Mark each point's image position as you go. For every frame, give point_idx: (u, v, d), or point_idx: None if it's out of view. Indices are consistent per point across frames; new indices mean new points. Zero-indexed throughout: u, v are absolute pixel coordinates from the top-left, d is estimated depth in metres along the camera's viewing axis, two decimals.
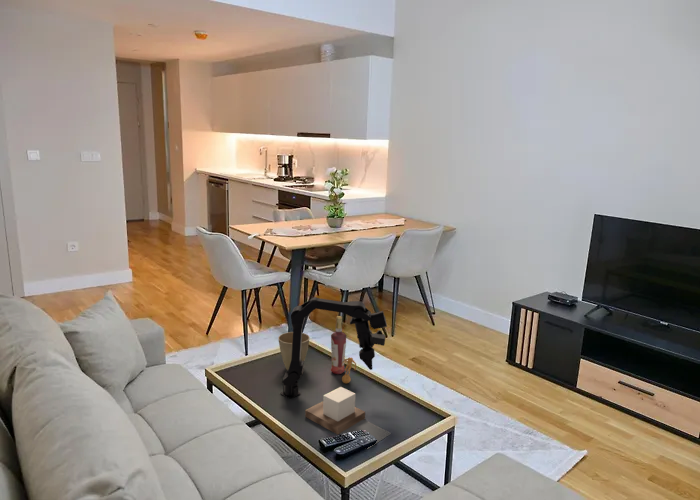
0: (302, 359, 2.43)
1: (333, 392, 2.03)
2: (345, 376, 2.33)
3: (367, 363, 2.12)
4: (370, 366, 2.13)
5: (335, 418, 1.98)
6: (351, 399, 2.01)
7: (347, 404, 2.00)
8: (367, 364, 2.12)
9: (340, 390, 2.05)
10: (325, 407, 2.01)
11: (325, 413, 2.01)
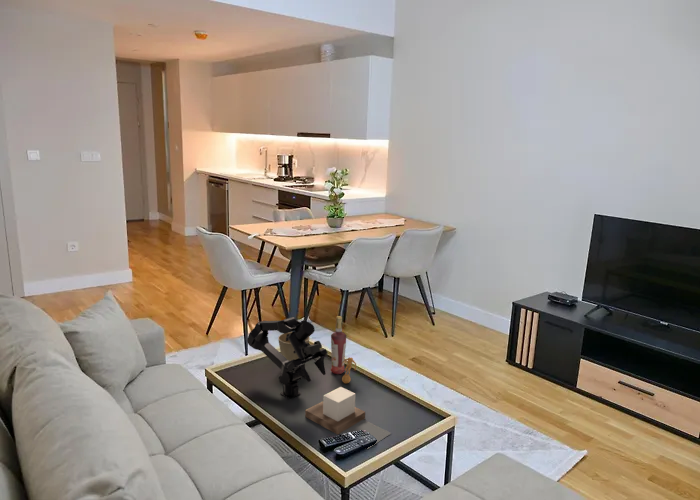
0: None
1: (333, 392, 2.03)
2: (345, 376, 2.33)
3: (302, 375, 2.07)
4: (306, 378, 2.06)
5: (335, 418, 1.98)
6: (351, 399, 2.01)
7: (347, 404, 2.00)
8: (303, 376, 2.07)
9: (340, 390, 2.05)
10: (325, 407, 2.01)
11: (325, 413, 2.01)
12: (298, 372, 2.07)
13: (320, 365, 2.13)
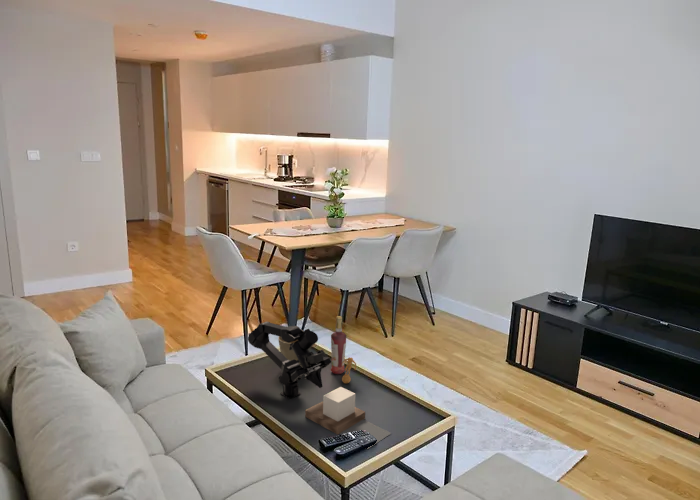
0: None
1: (333, 392, 2.03)
2: (345, 376, 2.33)
3: (313, 381, 2.09)
4: (317, 384, 2.08)
5: (335, 418, 1.98)
6: (351, 399, 2.01)
7: (347, 404, 2.00)
8: (314, 382, 2.09)
9: (340, 390, 2.05)
10: (325, 407, 2.01)
11: (325, 413, 2.01)
12: (309, 378, 2.09)
13: (317, 377, 2.10)
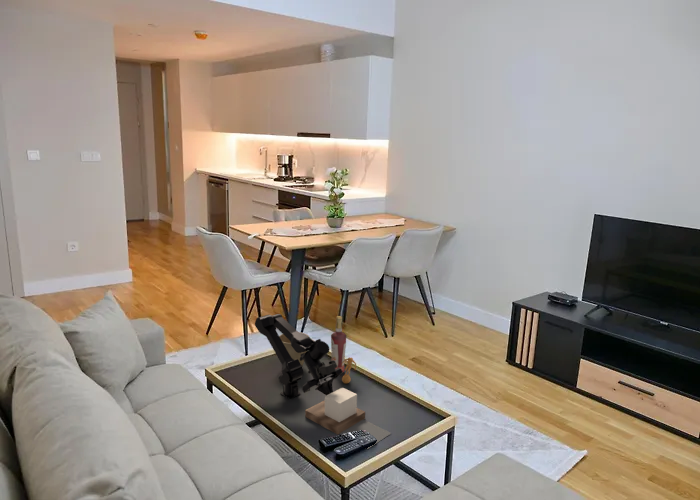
0: None
1: (335, 393, 2.02)
2: (345, 376, 2.33)
3: (325, 393, 2.05)
4: None
5: (337, 419, 1.97)
6: (353, 400, 2.01)
7: (349, 405, 1.99)
8: (325, 394, 2.05)
9: (341, 390, 2.04)
10: (327, 408, 2.00)
11: (327, 413, 2.00)
12: (320, 389, 2.06)
13: (329, 388, 2.06)
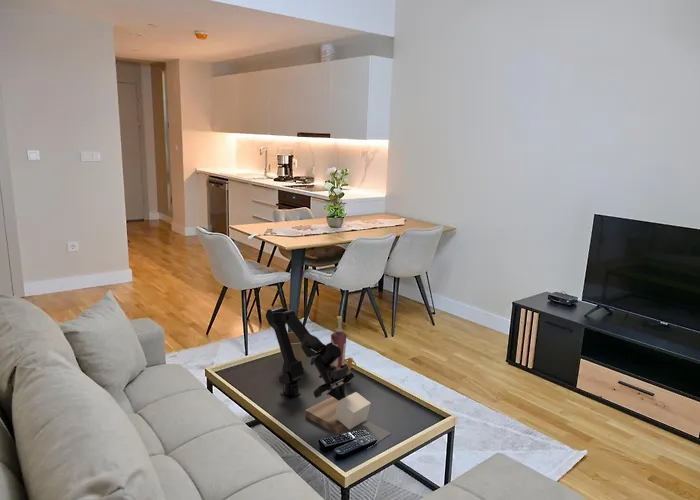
0: (302, 359, 2.43)
1: (348, 398, 1.97)
2: None
3: (337, 397, 2.01)
4: None
5: (347, 426, 1.93)
6: (366, 408, 1.97)
7: (361, 413, 1.95)
8: (337, 398, 2.01)
9: (355, 396, 2.00)
10: (338, 412, 1.96)
11: (338, 417, 1.96)
12: (332, 394, 2.01)
13: (340, 393, 2.01)
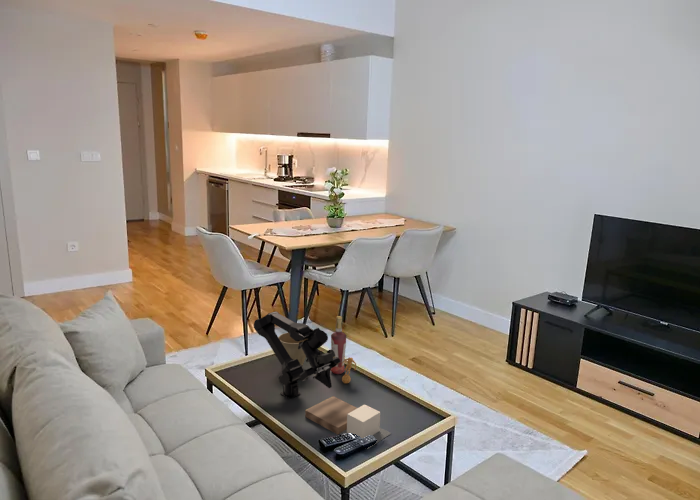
0: (302, 359, 2.43)
1: (371, 420, 1.91)
2: (345, 376, 2.33)
3: (322, 381, 2.05)
4: (327, 384, 2.04)
5: (348, 431, 1.94)
6: None
7: None
8: (323, 382, 2.05)
9: (376, 418, 1.94)
10: (353, 420, 1.91)
11: (349, 418, 1.92)
12: (318, 378, 2.06)
13: None
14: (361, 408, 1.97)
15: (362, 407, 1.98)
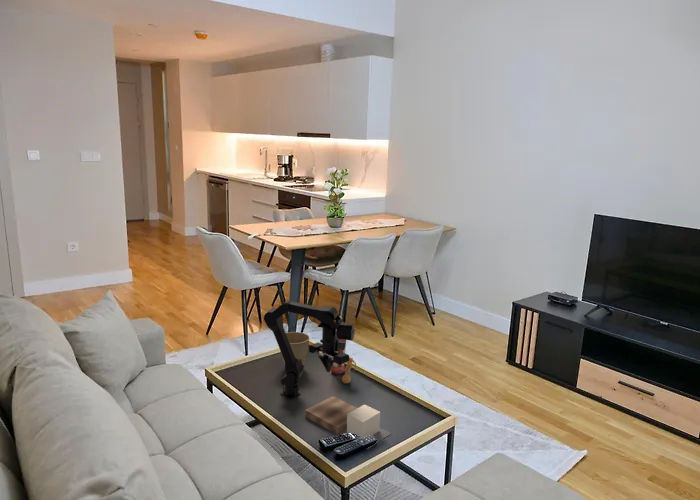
0: (302, 359, 2.43)
1: (371, 420, 1.91)
2: (345, 376, 2.33)
3: (329, 365, 2.14)
4: (330, 368, 2.15)
5: (348, 431, 1.94)
6: None
7: None
8: (329, 366, 2.14)
9: (376, 418, 1.94)
10: (353, 420, 1.91)
11: (349, 418, 1.92)
12: (329, 362, 2.12)
13: None
14: (361, 408, 1.97)
15: (362, 407, 1.98)
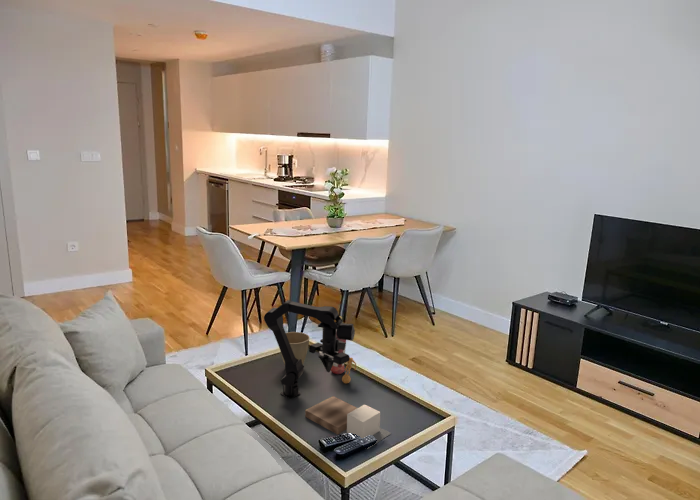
0: (302, 359, 2.43)
1: (371, 420, 1.91)
2: (345, 376, 2.33)
3: (329, 365, 2.14)
4: (330, 368, 2.15)
5: (348, 431, 1.94)
6: None
7: None
8: (329, 366, 2.14)
9: (376, 418, 1.94)
10: (353, 420, 1.91)
11: (349, 418, 1.92)
12: (329, 362, 2.12)
13: None
14: (361, 408, 1.97)
15: (362, 407, 1.98)
